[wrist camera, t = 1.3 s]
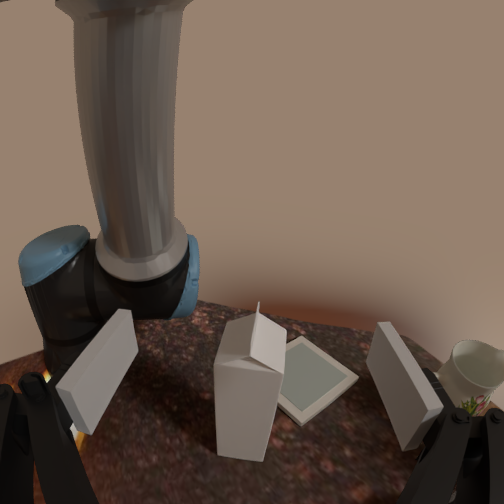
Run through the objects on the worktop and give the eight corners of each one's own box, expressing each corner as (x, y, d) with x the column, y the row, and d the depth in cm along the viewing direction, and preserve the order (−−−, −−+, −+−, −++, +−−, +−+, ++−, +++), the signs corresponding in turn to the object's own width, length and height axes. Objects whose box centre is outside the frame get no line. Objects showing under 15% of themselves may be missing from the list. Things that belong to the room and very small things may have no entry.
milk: (217, 455, 31) (210, 337, 22) (225, 420, 37) (225, 295, 27) (263, 462, 31) (289, 347, 21) (268, 426, 36) (291, 302, 27)
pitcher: (385, 395, 41) (417, 333, 35) (465, 391, 39) (501, 335, 33) (394, 449, 31) (440, 391, 25) (481, 436, 29) (528, 380, 23)
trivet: (241, 371, 46) (241, 366, 46) (300, 339, 54) (301, 335, 54) (300, 426, 36) (302, 422, 36) (357, 380, 45) (359, 376, 44)
